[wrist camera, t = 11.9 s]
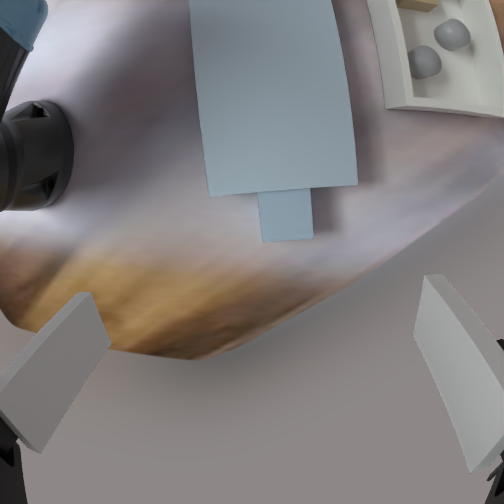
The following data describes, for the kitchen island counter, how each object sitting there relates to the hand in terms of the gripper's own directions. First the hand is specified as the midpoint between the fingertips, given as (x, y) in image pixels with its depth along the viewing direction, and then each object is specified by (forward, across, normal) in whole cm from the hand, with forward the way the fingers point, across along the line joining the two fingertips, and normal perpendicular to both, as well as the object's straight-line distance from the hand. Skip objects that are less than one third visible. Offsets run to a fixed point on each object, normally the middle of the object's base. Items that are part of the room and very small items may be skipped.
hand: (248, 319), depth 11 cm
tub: (+22, +19, +18) cm, 34 cm away
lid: (+23, +1, +9) cm, 25 cm away
